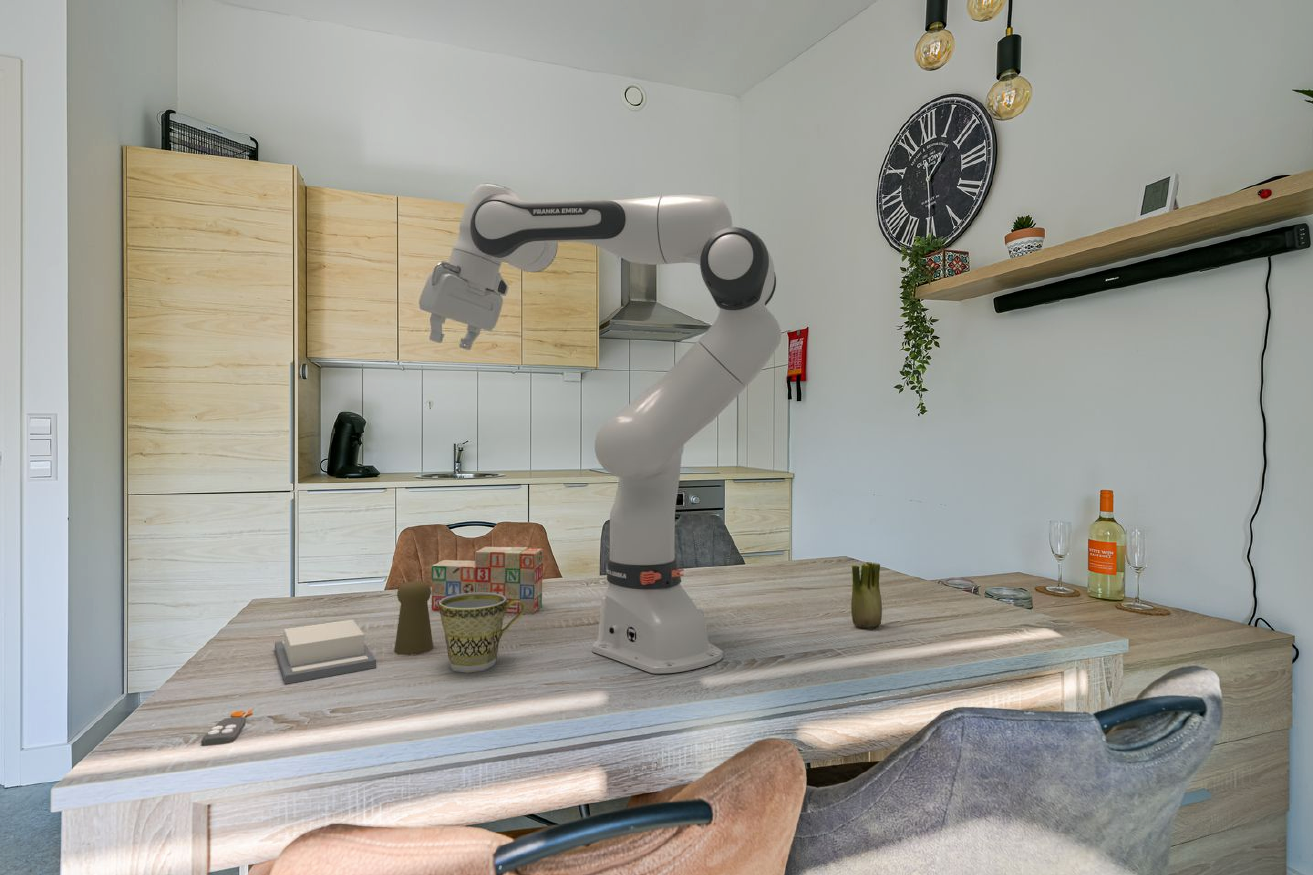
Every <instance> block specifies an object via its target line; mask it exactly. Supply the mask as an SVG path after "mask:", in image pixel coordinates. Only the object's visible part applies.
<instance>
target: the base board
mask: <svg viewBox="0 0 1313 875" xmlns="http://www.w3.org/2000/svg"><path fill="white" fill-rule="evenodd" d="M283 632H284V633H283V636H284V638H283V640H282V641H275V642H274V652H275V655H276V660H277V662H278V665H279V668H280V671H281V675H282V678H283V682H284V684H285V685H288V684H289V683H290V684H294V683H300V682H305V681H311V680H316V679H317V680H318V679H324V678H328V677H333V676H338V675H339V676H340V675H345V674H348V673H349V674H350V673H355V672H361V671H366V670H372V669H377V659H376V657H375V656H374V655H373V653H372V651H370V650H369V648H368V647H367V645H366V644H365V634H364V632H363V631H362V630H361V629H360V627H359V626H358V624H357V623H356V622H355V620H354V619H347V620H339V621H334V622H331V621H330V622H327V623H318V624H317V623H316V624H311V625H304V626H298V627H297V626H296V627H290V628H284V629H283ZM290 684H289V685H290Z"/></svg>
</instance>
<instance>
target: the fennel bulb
mask: <svg viewBox="0 0 1313 875" xmlns="http://www.w3.org/2000/svg"><path fill="white" fill-rule="evenodd" d="M880 569H881V564H880V563H878V562H877V563H876V562H873V563H872V562H870V561H866V563H862V564H861V568H860V565H858V564H852V565H851V570H852V571H851V572H852V575H851V576H852V586H851V587H852V588H851V590H852V591H851V600H850V601H851V602H850V612H851V613H850V614H851V618H852V622H853V623H852V624H853V625H854V626H856V627H859V628H862V629H872V630H873V629H878V628H879V627H880V626H881V625H882V617H883V616H882V615H883V613H882V612H883V601H882V596H881V591H880V590H881V588H880V572H881V571H880Z"/></svg>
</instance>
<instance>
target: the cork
mask: <svg viewBox="0 0 1313 875" xmlns="http://www.w3.org/2000/svg"><path fill="white" fill-rule="evenodd" d="M431 593H432V587H431V585H430V584H429V583H428V582H426V581H421V580H411V581H408V582H404V583H402V584H400V585H399V587H398V589H397V592H396V594H397V595H396V596H397V597H396V598H397V600H398V602H399V603H400V607H399V614H398V623H397V631H396V637H395V643H394V650H393V651H394V653H395V652H396V653H395V654H397V653H398V654H397V655H400V654H408V655H407V656H415V655H414V654H416V655H420V654H421V653H422V654H424V652H425V653H428V652H429V651H432V650H433V649H434V642H433V634H432V627H431V625H432V624H431V620H430V612H429V604H428V601H429V599H430V598H431V596H432V595H431ZM411 654H413V655H411Z"/></svg>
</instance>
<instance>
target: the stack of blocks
mask: <svg viewBox="0 0 1313 875" xmlns="http://www.w3.org/2000/svg"><path fill="white" fill-rule="evenodd" d="M543 553H544V549H543V548H533V547H531V548H530V547H526V546H525V547H523V546H514V547H510V546H508V547H506V546H505V547H504V546H503V547H502V546H484V547H482V548H481V549H479V550H477V551H475V560H460V559H459V560H457V559H456V560H452V559H444V560H441V561H438V562H437V563H435V564H433V565H431V568H430V569H431V574H430V575H431V578H430V579H431V595H430V596H431V611H432V610H439V601H440V600H442V599H444V598H446V597H449V596H453V595H458V594H464V593H477V592H484V593H496V594H500V595H503V596H505V597H506V599H507V600H506V602H508V601H509V600H512V599H518V600H521V601H522V602H523V604H524V612H523V614H522V615H535V614H536V613H537V612H538V611H539V610H540V609H541V608H542V607H543V575H544V574H543V572H544V571H543V570H544V569H543V567H544V563H543V562H544V561H543V556H544V555H543ZM521 609H522V606H521V604H520V603H514V604H513V605H511V606H510V607H509V608H508V609H507V611H506V613H505V614H511V613H518V614H519V613H520V612H521ZM518 614H517V615H518Z"/></svg>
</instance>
